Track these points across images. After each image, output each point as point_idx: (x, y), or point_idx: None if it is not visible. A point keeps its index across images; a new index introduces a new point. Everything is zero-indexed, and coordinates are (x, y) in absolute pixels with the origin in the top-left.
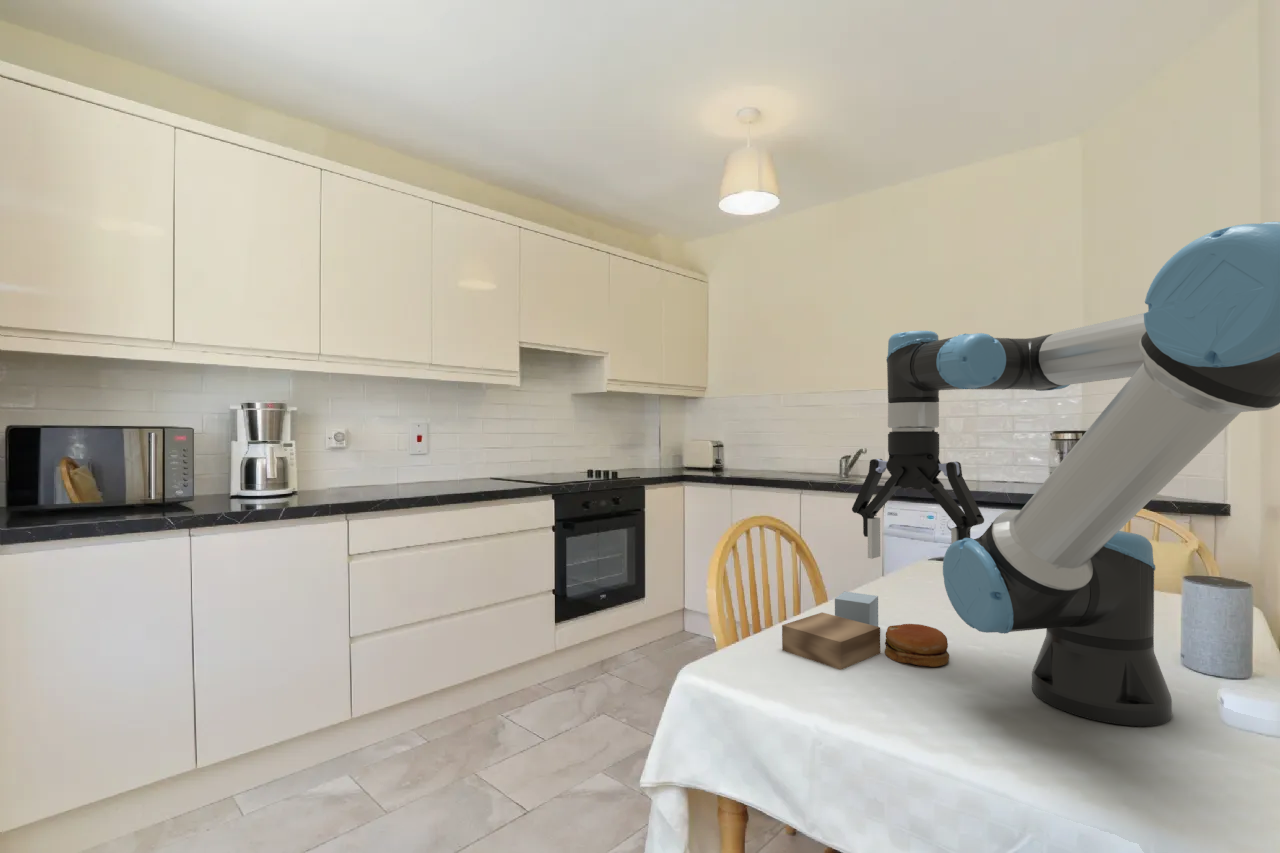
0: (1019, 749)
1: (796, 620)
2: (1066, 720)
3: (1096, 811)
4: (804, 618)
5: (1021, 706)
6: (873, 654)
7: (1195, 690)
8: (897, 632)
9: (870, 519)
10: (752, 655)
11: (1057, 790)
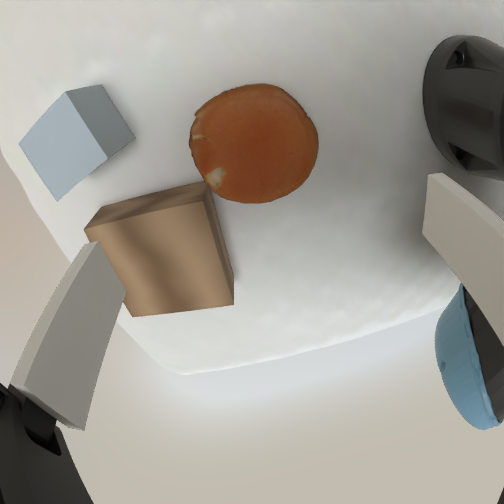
0: (440, 269)
1: None
2: (464, 184)
3: None
4: None
5: None
6: (213, 202)
7: (500, 2)
8: (243, 194)
9: (80, 429)
10: (148, 322)
11: None
